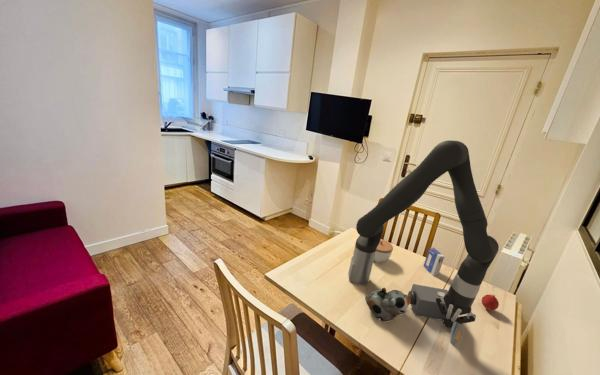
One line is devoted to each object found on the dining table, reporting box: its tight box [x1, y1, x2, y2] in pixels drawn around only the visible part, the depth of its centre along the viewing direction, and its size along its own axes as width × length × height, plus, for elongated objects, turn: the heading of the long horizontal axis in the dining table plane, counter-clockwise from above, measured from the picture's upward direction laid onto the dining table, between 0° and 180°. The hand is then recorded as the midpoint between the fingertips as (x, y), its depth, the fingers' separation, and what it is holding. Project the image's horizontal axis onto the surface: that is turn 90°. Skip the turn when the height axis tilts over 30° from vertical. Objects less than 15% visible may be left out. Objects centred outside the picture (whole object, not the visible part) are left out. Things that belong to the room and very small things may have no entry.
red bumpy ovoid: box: [481, 294, 500, 311], centre depth 106 cm, size 6×6×8 cm
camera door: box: [449, 315, 461, 344], centre depth 92 cm, size 12×2×7 cm, turn 148°
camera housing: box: [407, 283, 454, 321], centre depth 102 cm, size 16×9×9 cm, turn 83°
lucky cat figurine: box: [364, 287, 412, 323], centre depth 97 cm, size 15×12×14 cm
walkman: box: [423, 247, 445, 277], centre depth 127 cm, size 8×3×12 cm, turn 11°
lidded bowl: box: [373, 238, 394, 264], centre depth 133 cm, size 13×13×11 cm
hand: (446, 325), depth 90 cm, fingers closed
